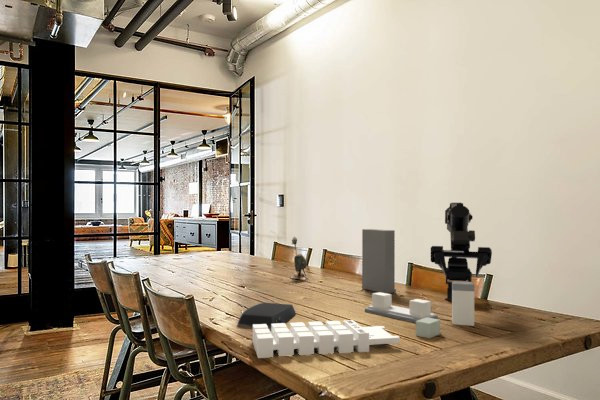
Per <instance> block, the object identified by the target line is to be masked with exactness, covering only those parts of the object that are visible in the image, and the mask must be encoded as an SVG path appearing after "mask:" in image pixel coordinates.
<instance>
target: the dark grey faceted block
mask: <svg viewBox="0 0 600 400" xmlns="http://www.w3.org/2000/svg"><path fill="white" fill-rule="evenodd" d="M296 315H297V313H296V309H295V308H294V306H293V304H290V303H289V304H287V303H274V302H261V303H257V304H254V305H252V306H250V307H248V308H246V309H245V310H244V311H243V312H242V313H241V314H240V317H239V319H238V322H237V324H236V326H238V327H247V328H253V324H267V326H268V329H269V330H271V324H275V323H285V324H286V323H288V322H290V321H291V320H292V319H293V318H294V317H296ZM290 319H291V320H290Z"/></svg>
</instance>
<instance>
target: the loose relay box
mask: <svg viewBox="0 0 600 400" xmlns="http://www.w3.org/2000/svg"><path fill="white" fill-rule="evenodd" d="M438 335H441V319H440V318H437V319H433V318H428V317H427V318H423V319H420V320H417V321H416V323H415V336H418V337H421V338H427V339H431V338H433V337H436V336H438Z"/></svg>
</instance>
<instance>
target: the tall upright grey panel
mask: <svg viewBox="0 0 600 400" xmlns="http://www.w3.org/2000/svg"><path fill="white" fill-rule="evenodd" d="M361 233H362V234H361V239H362V241H361V242H362V243H361V246H362V248H361V249H362V251H361V255H362V256H361V259H362V261H361V262H362V264H361V266H362V267H361V269H362V270H361V274H362V277H361V278H362V279H361V283H362V284H361V289H362V290H368V291H372V292H375V293H378V292H381V293H387V294H393V292H394V293H397V289H396V288H395V268H396V267H395V265H396V264H395V261H396V260H395V257H396V256H395V250H396V249H395V246H396V245H395V244H396V243H395V241H396V240H395V239H396V237H395V235H396V233H395V230H393V229H378V228H377V229H375V228H363V229H362V231H361Z"/></svg>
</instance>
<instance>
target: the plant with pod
mask: <svg viewBox="0 0 600 400" xmlns="http://www.w3.org/2000/svg"><path fill="white" fill-rule="evenodd" d="M291 242H292V243H291V245H292V246H293V245H294V248H295V250H294V251H297V242H298V238H297V237H296V236H293V238H292V239H291ZM307 265H308V263H307V259H306V258H305V256H304V255H303V254H302V253H298V254H297V252H295V255H294V270H295V273H293V275H291V276H289V277H290V278H291V279H293V280H294V279H295V280H304V279H305V280H308V279H309V277H307V274H306V271H305V269H307Z"/></svg>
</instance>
